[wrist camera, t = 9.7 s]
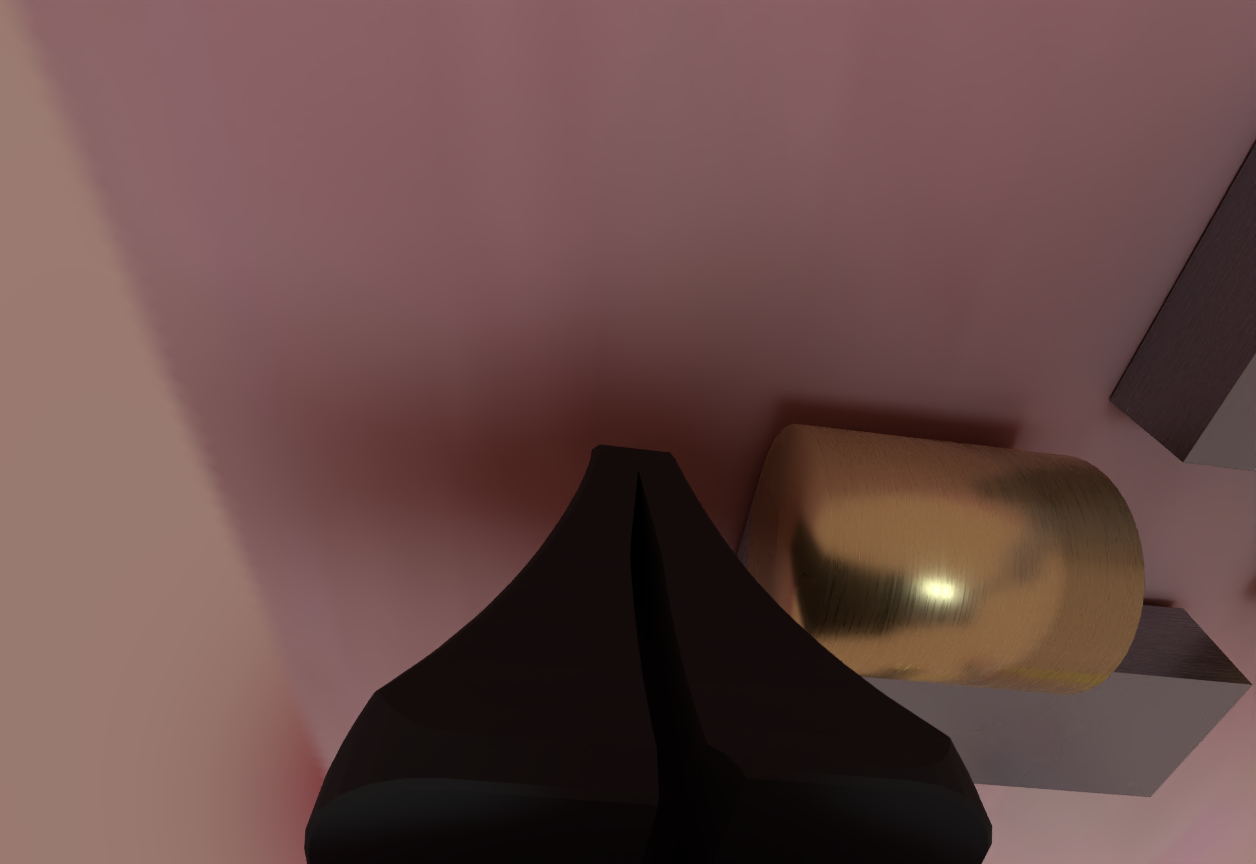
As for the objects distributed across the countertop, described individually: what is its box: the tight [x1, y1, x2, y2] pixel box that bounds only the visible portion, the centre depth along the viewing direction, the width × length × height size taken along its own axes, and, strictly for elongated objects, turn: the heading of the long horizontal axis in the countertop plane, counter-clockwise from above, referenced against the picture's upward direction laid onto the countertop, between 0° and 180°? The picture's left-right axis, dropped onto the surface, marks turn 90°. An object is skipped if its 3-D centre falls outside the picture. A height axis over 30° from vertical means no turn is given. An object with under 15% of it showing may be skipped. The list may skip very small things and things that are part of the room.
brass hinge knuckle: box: [737, 424, 1252, 797], centre depth 13 cm, size 10×8×4 cm
